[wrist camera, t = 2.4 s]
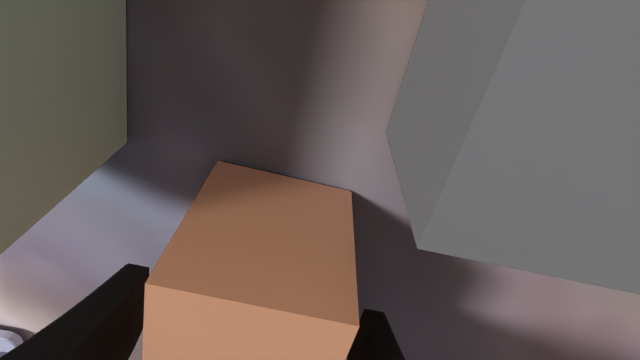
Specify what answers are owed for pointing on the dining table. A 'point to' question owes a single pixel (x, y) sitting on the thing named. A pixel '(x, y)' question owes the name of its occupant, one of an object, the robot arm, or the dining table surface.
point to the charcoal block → (525, 136)
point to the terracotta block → (256, 273)
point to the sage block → (57, 102)
